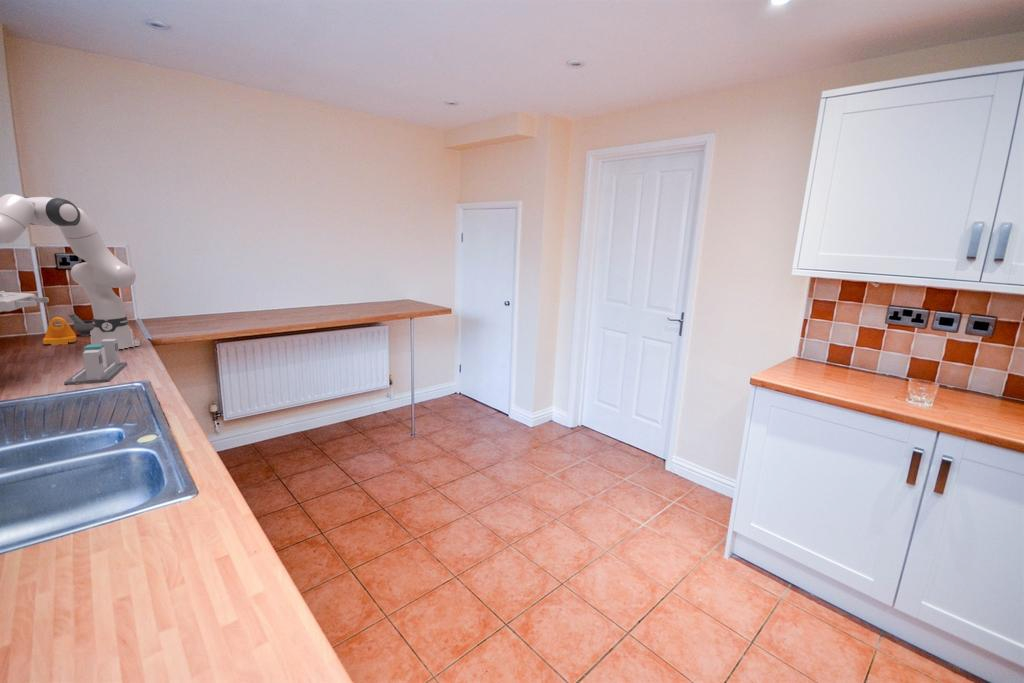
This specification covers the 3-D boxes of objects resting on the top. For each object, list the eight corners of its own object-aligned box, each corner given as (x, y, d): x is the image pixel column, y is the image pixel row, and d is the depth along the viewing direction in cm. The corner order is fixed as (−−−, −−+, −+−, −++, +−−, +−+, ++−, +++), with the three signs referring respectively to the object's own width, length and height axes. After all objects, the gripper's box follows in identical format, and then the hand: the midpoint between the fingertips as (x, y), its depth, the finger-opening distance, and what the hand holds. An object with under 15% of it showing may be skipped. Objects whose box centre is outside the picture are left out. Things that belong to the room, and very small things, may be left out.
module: (92, 370, 176) (87, 344, 174) (107, 369, 178) (103, 344, 176) (87, 373, 172) (83, 347, 170) (103, 372, 174) (99, 346, 172)
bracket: (43, 346, 212) (38, 320, 210) (45, 342, 218) (41, 317, 215) (75, 343, 219) (71, 318, 216) (76, 340, 224) (73, 316, 222)
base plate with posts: (88, 367, 183) (84, 339, 181) (127, 364, 189) (123, 338, 186) (64, 385, 162) (59, 354, 159) (108, 381, 167) (104, 352, 165)
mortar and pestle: (101, 332, 242) (97, 310, 240) (101, 336, 235) (98, 312, 233) (71, 335, 235) (68, 311, 232) (71, 338, 228) (67, 314, 225)
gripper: (-32, 297, 148) (27, 296, 154) (0, 290, 166) (52, 289, 172) (-28, 316, 149) (30, 315, 156) (4, 307, 167) (55, 306, 173)
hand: (42, 301), depth 164 cm, fingers open, 8 cm apart
